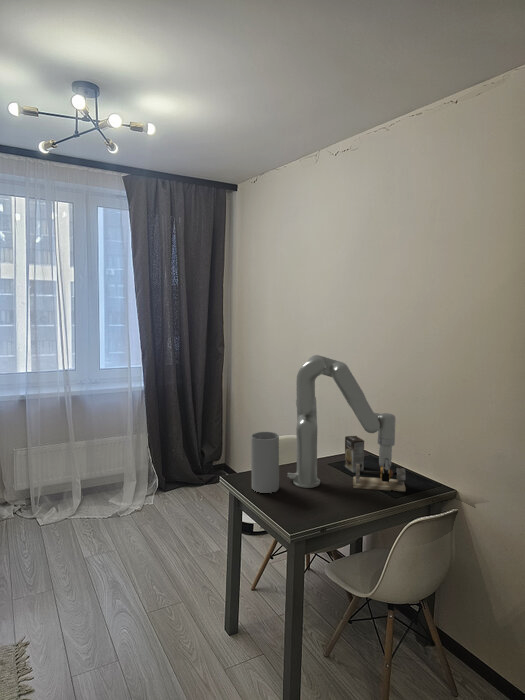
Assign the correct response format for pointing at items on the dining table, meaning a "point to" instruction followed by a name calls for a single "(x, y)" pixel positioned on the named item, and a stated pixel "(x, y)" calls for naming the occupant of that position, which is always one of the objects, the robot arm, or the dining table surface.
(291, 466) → the dining table surface
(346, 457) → the coffee box
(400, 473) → the cord rig
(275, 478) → the cylinder vase
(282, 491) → the dining table surface
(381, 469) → the sleeve
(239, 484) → the dining table surface
